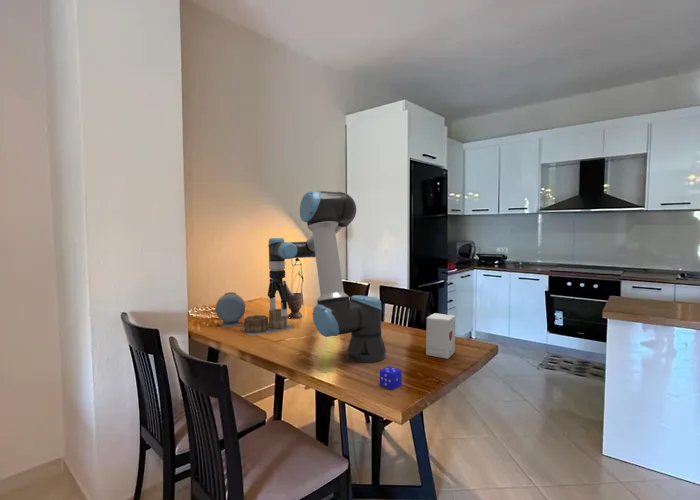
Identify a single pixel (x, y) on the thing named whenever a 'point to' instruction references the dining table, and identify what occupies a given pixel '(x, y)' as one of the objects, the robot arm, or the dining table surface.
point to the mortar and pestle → (294, 303)
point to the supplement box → (440, 335)
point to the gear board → (269, 330)
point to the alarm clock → (230, 309)
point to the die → (390, 377)
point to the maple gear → (277, 319)
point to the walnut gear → (256, 324)
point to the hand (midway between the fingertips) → (278, 313)
